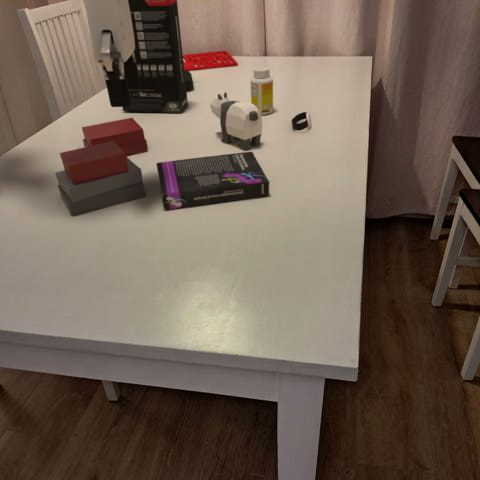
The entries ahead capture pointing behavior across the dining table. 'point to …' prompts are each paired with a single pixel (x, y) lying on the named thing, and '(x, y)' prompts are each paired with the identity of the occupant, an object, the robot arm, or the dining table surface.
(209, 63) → the maze puzzle
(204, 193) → the box
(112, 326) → the dining table surface
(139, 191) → the grey book pile
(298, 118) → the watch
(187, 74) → the carrying case
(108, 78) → the robot arm
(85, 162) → the dark red rectangular block
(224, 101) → the giant panda
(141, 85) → the graphics card box
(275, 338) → the dining table surface
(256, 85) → the supplement bottle
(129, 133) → the burgundy book pile
